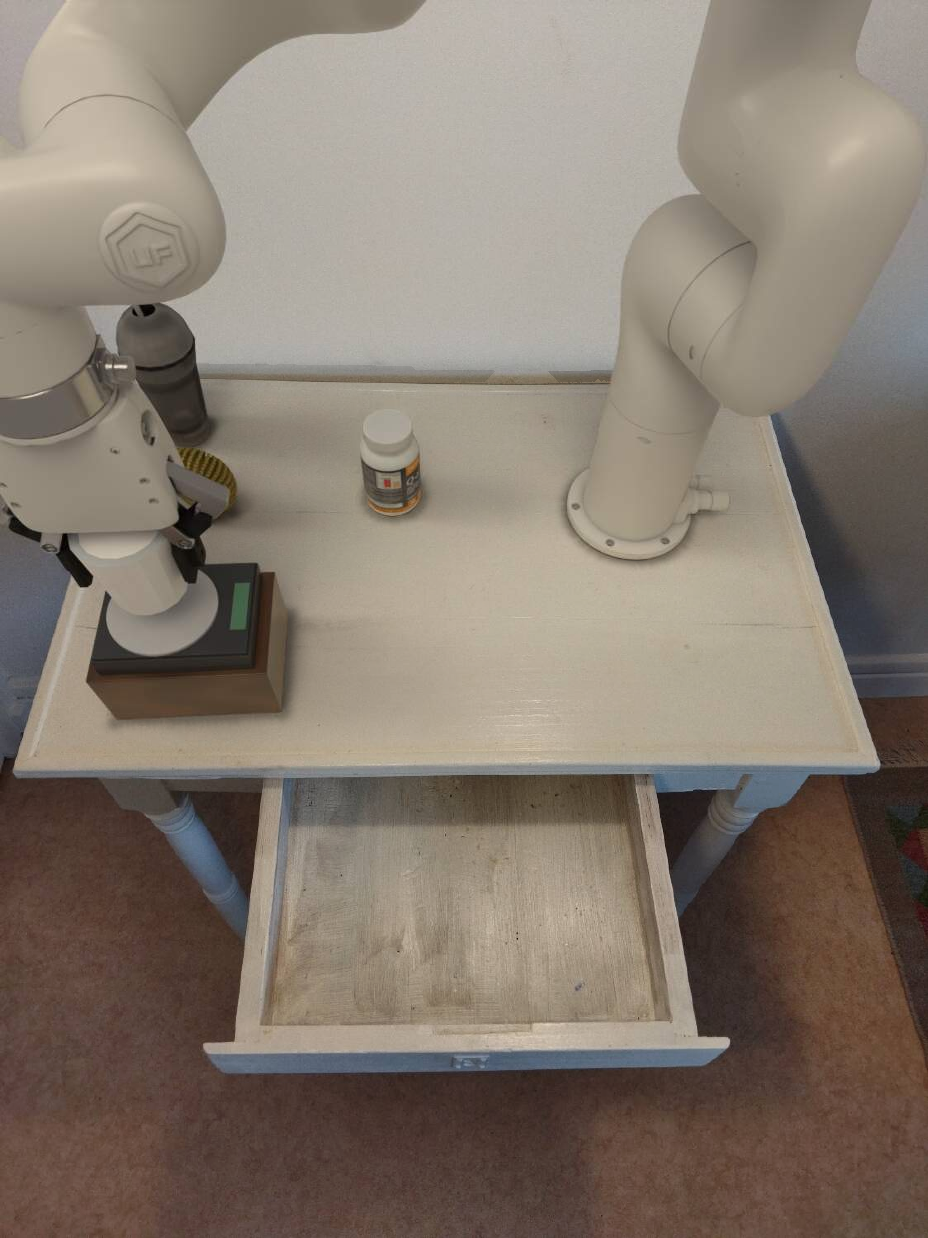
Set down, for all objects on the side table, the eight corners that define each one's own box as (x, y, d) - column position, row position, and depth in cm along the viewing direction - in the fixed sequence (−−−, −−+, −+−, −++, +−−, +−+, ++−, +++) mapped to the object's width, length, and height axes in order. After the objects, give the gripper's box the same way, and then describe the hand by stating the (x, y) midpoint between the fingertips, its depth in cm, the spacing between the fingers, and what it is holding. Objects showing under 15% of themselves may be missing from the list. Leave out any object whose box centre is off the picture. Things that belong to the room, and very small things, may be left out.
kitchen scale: (262, 576, 67) (256, 558, 65) (254, 669, 62) (247, 652, 60) (118, 581, 66) (107, 563, 64) (99, 675, 62) (86, 659, 59)
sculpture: (249, 500, 80) (232, 443, 74) (238, 530, 78) (219, 475, 72) (173, 490, 81) (149, 433, 74) (160, 520, 79) (134, 464, 72)
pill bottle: (422, 517, 80) (420, 447, 71) (365, 519, 80) (357, 449, 71) (419, 475, 83) (417, 403, 74) (365, 477, 83) (356, 405, 74)
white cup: (176, 630, 57) (145, 575, 51) (88, 613, 58) (47, 556, 52) (210, 556, 61) (186, 496, 55) (127, 541, 62) (94, 480, 56)
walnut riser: (288, 614, 73) (274, 571, 67) (281, 712, 68) (266, 674, 62) (134, 620, 72) (107, 577, 66) (116, 719, 67) (85, 681, 61)
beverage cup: (204, 464, 83) (144, 297, 66) (141, 448, 84) (66, 280, 67) (234, 417, 87) (184, 248, 70) (173, 403, 88) (110, 233, 71)
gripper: (207, 329, 45) (265, 526, 60) (-107, 335, 44) (32, 533, 59) (191, 423, 41) (257, 608, 56) (-154, 431, 40) (8, 617, 55)
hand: (141, 568), depth 58 cm, fingers closed on white cup, 6 cm apart
